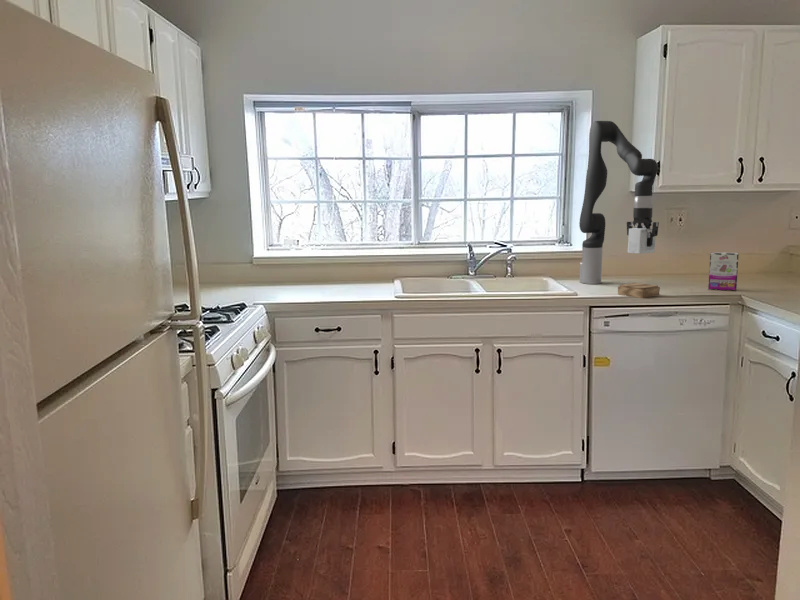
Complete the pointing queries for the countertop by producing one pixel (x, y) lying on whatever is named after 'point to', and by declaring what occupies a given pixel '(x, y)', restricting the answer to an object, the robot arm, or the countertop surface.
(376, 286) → the countertop surface
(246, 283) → the countertop surface
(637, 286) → the oak plinth
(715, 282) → the candy bar box
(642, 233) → the skincare box
